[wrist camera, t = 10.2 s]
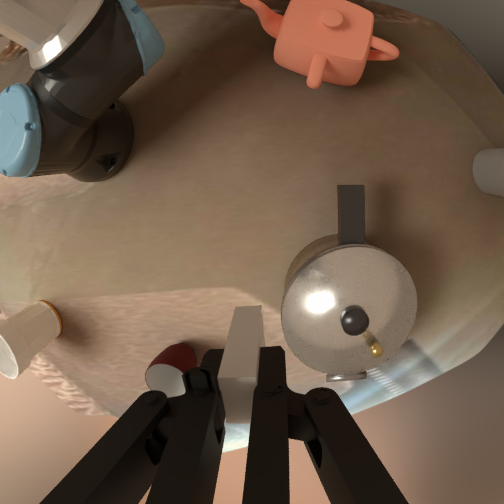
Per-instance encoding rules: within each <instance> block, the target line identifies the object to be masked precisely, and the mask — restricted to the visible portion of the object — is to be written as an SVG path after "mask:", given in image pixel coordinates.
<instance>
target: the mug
mask: <svg viewBox="0 0 504 504" xmlns="http://www.w3.org/2000/svg"><path fill="white" fill-rule="evenodd" d="M194 367H197V359H196V356H195V354H194V352H193V350H192V348H191V347H189V346H188V345H186V344H174V345H171V346H169V347H167V348H166V349H165V350H164V351H163V352H161V353H160V354H159V355H158V356H157V357H156V358H155V359H154V360H153V361H152V362H151V364H150V365H149V367H148V369H147V371H146V373H145V380H146V383H147V385H148V387H149V388H150V390H151V391H152V390H158V391H162V392H164V393H165V394H166V395H167V398H168V397H174V396H179V395H183V394H185V391H186V390H185V387H184V383H183V379H182V374H183V373H184V372H185V371H187V370H188V369H191V368H194Z"/></svg>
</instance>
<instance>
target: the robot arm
mask: <svg viewBox="0 0 504 504" xmlns="http://www.w3.org/2000/svg"><path fill="white" fill-rule="evenodd" d="M0 34H1V35H3V36H5V37H7V38H9V39H11V40H12V41H14V42H16V43H18V44H20V45H21V46H23V47H25V48H27V49H28V51H29V59H30V66H31V67H32V68H33V69H35V70H36V71H35V73H34V74H33V75H32V77H31V78H30V79H29V81H28V82H27V83H26V84H24V83H17V84H13V85H12V86H9V87H7V88H5V89H4V90H3V91H2V92H1V94H0V173H1V174H3V175H5V176H8V177H21V178H27V177H32V176H42V175H52V174H63V173H65V174H67V175H69V176H71V177H73V178H75V179H77V180H79V181H83V182H98V181H103V180H106V179H108V178H110V177H111V176H113V175H114V174H115V173H117V172H118V171H119V170H120V168H121V167H122V166H123V165H124V163H125V162H126V160H127V158H128V156H129V154H130V151H131V148H132V143H133V124H132V120H131V117H130V115H129V113H128V112H127V110H126V109H125V108H124V107H123V106H122V105H121V104H120V103H118V102H116V100H117V99H118V98H119V97H120V96H121V95H122V94H123V93H124V92H125V91H126V90H127V89H128V88H129V87H130V86H132V85H133V84H134V83H135V82H136V81H137V80H138V79H139V78H140V77H141V76H144V75H146V73H147V71H148V70H149V69H150V68H151V67H152V66H153V65H154V64H155V63H156V62H157V61H158V60H159V59H160V58H161V57H162V56H163V54H164V50H165V44H164V41H163V39H162V37H161V35H160V34H159V32H158V30H157V29H156V27H155V26H154V24H153V23H152V21H151V20H150V19H149V17H148V16H147V15H146V13H145V12H144V11H143V10H142V9H140V6H139V5H138V4H137V2H136V1H135V0H0ZM182 379H183V383H184V387H185V390H186V391H185V394H183V395H179V396H174V397H168V398H167V395H166V394H165V393H164V392H162V391H158V390H152V391H148V392H145V393H143V394H142V395H141V396H139V398H138V399H137V400H136V401H135V402H134V403H133V404H132V405H131V406H130V407H129V408H128V410H127V411H126V412H125V413H124V414H123V415H122V416H121V417H120V418H119V419H118V420H117V422H116V423H115V424H114V425H113V426H112V427H111V428H110V429H109V430H108V431H107V432H106V433H105V435H104V436H103V437H102V438H101V439H100V440H99V441H98V442H97V443H96V444H95V445H94V446H93V447H92V449H91V450H90V451H89V452H88V453H87V454H86V455H85V456H84V457H83V458H82V459H81V460H80V461H79V462H78V463H77V464H76V466H75V467H74V468H73V469H72V470H71V471H70V472H69V473H68V474H67V475H66V476H65V477H64V478H63V479H62V480H61V482H60V483H59V484H58V485H57V486H56V487H55V488H54V489H53V490H52V491H51V492H50V493H49V494H48V495H47V496H46V497H45V498H44V499H43V500H42V501H41V502H40V504H138V503H139V502H140V500H141V499H142V498H143V496H144V495H145V493H146V492H147V490H148V489H149V487H150V486H151V485H152V486H151V489H150V492H149V495H148V498H147V501H146V503H145V504H213V499H214V493H215V488H216V482H217V477H218V471H219V465H220V460H221V454H222V448H223V443H224V437H225V426H224V421H225V417H226V422H227V423H251V424H250V434H249V444H248V454H247V463H246V472H245V482H244V491H243V500H242V504H290V502H289V501H290V494H289V493H290V491H289V441H288V438H290V439H296V440H301V441H304V444H305V446H306V449H307V451H308V453H309V456H310V458H311V460H312V462H313V465H314V467H315V469H316V472H317V474H318V476H319V478H320V481H321V483H322V485H323V487H324V490H325V492H326V494H327V496H328V498H329V500H330V503H331V504H409V503H408V502H407V500H406V499H405V497H404V496H403V494H402V493H401V491H400V490H399V488H398V487H397V485H396V484H395V482H394V481H393V479H392V477H391V476H390V474H389V473H388V471H387V470H386V468H385V467H384V465H383V464H382V462H381V461H380V459H379V458H378V456H377V454H376V453H375V451H374V450H373V448H372V447H371V445H370V444H369V442H368V441H367V439H366V438H365V436H364V435H363V433H362V431H361V430H360V428H359V427H358V425H357V424H356V422H355V421H354V419H353V418H352V416H351V414H350V413H349V411H348V410H347V408H346V407H345V405H344V404H343V402H342V401H341V399H340V397H339V396H338V394H337V393H336V392H335V391H334V390H332V389H329V388H323V387H321V388H315V389H312V390H310V391H309V392H308V393H306V395H304V394H299V393H295V392H293V391H291V390H290V389H289V388H288V386H287V383H286V364H285V351H284V350H283V349H282V347H281V346H272V347H265V339H264V327H263V316H262V305H260V306H241V307H235V311H234V315H233V318H232V322H231V326H230V330H229V334H228V338H227V342H226V346H225V349H210V350H209V351H208V352H207V353H206V354H205V355H204V357H203V360H202V362H201V365H200V367H194V368H191V369H188V370H187V371H185V372H184V373H183V374H182Z"/></svg>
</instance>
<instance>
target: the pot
mask: <svg viewBox="0 0 504 504" xmlns="http://www.w3.org/2000/svg"><path fill="white" fill-rule="evenodd" d="M337 192H338V234H336V235H330V236H325V237H323V238H320V239H317V240H316V241H314V242H312V243H310V244H309V245H307V246H306V247H305V248H304V249H303V250H302V251H300V253H299V254H298V255H297V256H296V257H295V259H294V260H293V262H292V263H291V265H290V267H289V269H288V272H287V275H286V280H285V293H284V296H283V300H282V305H281V322H282V308H283V302H284V299H285V296H286V293H287V291H288V289H289V287H290V285H291V283H292V281H293V280H294V278H295V277H296V276H297V274H298V273H299V272H300V271H301V270H302V269H303V268H304V267H305V266H306V265H307V264H308V263H309V262H311V261H312V260H314V259H315V258H317V257H318V256H320V255H322V254H324V253H326V252H328V251H331V250H333V249H336V248H341V247H345V246H368V247H373V248H376V249H379V250H382V251H384V252H386V253H388V252H387V251H385V250H383V249H381V248H379V247H376V246H373V245H372V244H370V243H369V242H367V241H366V240H365V195H364V185H337ZM388 254H389V255H391V254H390V253H388ZM391 256H392V255H391ZM392 257H394V256H392ZM394 258H395V257H394ZM395 259H396V258H395ZM396 260H397V259H396Z"/></svg>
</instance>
